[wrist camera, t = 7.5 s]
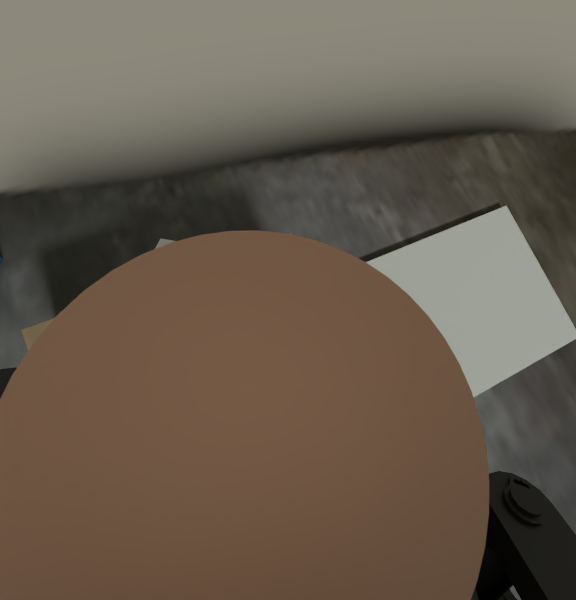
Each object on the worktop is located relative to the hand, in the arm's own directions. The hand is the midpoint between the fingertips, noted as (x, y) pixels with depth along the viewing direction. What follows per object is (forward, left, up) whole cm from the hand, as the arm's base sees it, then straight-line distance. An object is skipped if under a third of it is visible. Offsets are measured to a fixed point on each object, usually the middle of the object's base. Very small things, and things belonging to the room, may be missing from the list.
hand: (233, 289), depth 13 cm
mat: (-14, +4, -9) cm, 18 cm away
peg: (+2, +3, -5) cm, 6 cm away
